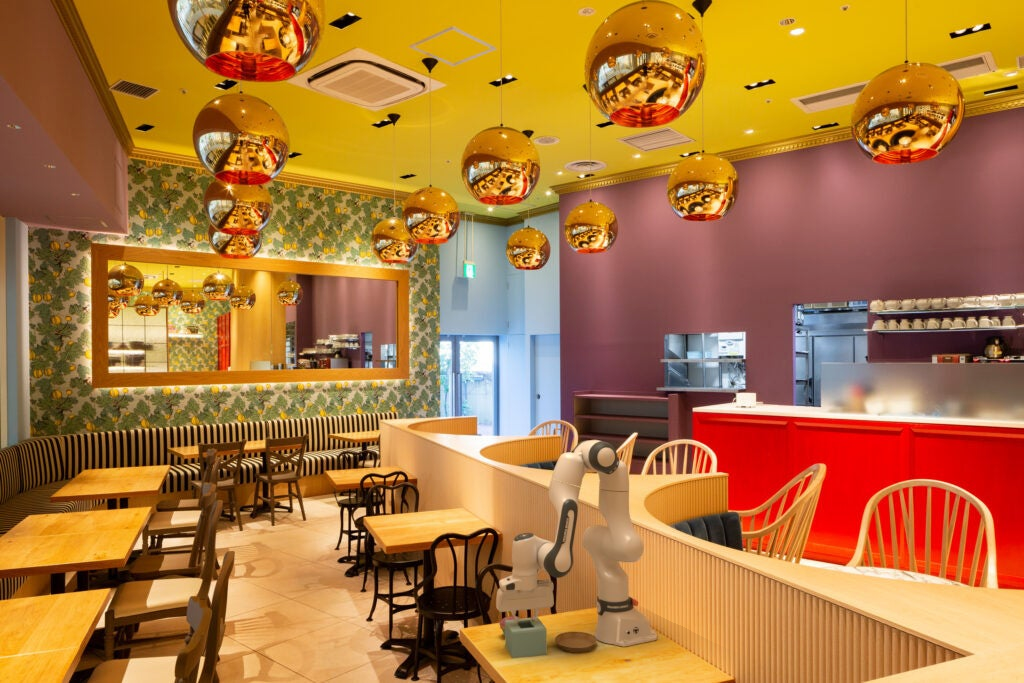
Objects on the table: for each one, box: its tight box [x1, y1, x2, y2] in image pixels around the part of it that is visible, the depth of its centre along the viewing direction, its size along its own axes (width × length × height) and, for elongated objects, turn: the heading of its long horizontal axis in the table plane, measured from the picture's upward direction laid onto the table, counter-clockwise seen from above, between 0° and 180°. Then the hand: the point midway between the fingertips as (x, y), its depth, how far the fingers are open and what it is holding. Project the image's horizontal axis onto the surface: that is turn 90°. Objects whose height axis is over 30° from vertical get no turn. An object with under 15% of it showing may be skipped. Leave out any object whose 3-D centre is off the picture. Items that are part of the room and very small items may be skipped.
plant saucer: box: [554, 631, 598, 653], centre depth 236 cm, size 15×15×3 cm
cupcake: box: [498, 611, 514, 638], centre depth 245 cm, size 9×8×12 cm
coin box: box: [504, 616, 548, 659], centre depth 233 cm, size 12×11×9 cm
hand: (525, 621), depth 233 cm, fingers open, 5 cm apart
